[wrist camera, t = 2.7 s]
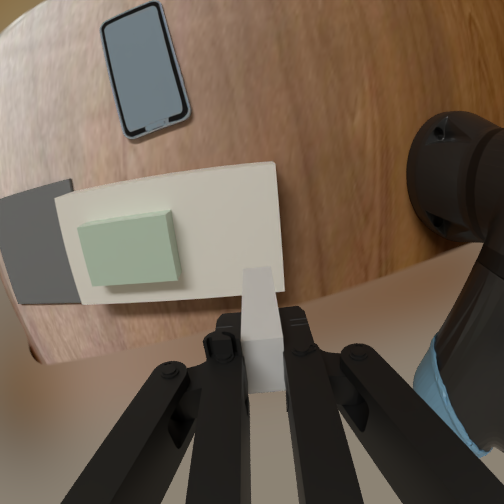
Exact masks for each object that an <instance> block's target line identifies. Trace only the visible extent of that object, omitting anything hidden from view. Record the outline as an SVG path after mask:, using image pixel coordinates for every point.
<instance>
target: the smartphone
mask: <svg viewBox="0 0 504 504" xmlns="http://www.w3.org/2000/svg"><path fill="white" fill-rule="evenodd" d="M100 36H101V41H102V46H103V51H104V56H105V61H106V65H107V70H108V74H109V79H110V83H111V87H112V92H113V96H114V100H115V104H116V108H117V112H118V116H119V119H120V123H121V127H122V131H123V134H124V136H125V137H127V138H129V139H136V138H139V137H141V136H144V135H147V134H149V133H152V132H154V131H157V130H160V129H162V128H165V127H168V126H171V125H173V124H176V123H179V122H182V121H185V120H186V119H188V118H189V116H190V115H191V106H190V102H189V99H188V96H187V92H186V89H185V85H184V81H183V77H182V75H181V70H180V66H179V64H178V61H177V57H176V54H175V50H174V47H173V43H172V40H171V36H170V32H169V29H168V25H167V22H166V18H165V14H164V11H163V7H162V4H161V3H160V2H159V1H157V0H152V1H149V2H146V3H144V4H141V5H139V6H137V7H134V8H132V9H130V10H127V11H125V12H123V13H121V14H119V15H116V16H114V17H112V18H110V19H108V20H106V21H105V22H103V23H102V25H101V27H100Z"/></svg>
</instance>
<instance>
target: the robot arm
mask: <svg viewBox="0 0 504 504" xmlns="http://www.w3.org/2000/svg"><path fill="white" fill-rule="evenodd" d="M407 186H408V192H409V196H410V200H411V202H412V205H413V207H414V210H415V212H416V213H417V215H418V217H419V218H420V220H421V221H422V222H423V223H424V224H425V225H426V226H427V227H428V228H429V229H430V230H432V231H433V232H435V233H437V234H438V235H440V236H442V237H444V238H446V239H448V240H451V241H455V242H482V243H484V244H483V247H482V249H481V251H480V254H479V256H478V258H477V260H476V262H475V264H474V266H473V268H472V271H471V273H470V275H469V277H468V279H467V281H466V283H465V285H464V287H463V289H462V291H461V293H460V295H459V296H458V298H457V300H456V302H455V304H454V306H453V308H452V309H451V311H450V313H449V315H448V316H447V318H446V320H445V322H444V324H443V325H442V327H441V329H440V330H439V332H437V333H436V335H435V336H434V338H433V339H432V341H431V344H430V348H429V350H428V351H427V353H426V354H425V356H424V358H423V359H422V361H421V363H420V364H419V366H418V368H417V370H416V373H415V376H414V381H413V389H412V388H411V387H410V386H409V384H407V382H406V381H405V380H404V379H403V378H402V377H401V376H400V375H399V374H398V373H397V372H396V371H395V370H394V369H393V368H392V367H391V366H390V365H389V364H388V363H387V362H386V361H385V360H384V359H383V358H382V357H381V356H380V355H379V354H378V353H377V352H376V351H375V350H374V349H373V348H372V347H370V346H368V345H365V344H357V343H356V344H351V345H348V346H346V347H344V349H343V350H342V351H341V353H329V352H325V351H322V350H321V349H319V347H318V345H317V344H315V343H314V341H313V337H312V334H311V331H310V327H309V324H308V321H307V318H306V315H305V311H304V310H302V309H301V308H300V307H299V306H293V307H283V308H278V305H277V299H276V293H275V287H274V282H273V276H272V270H271V266H267V267H256V268H246V269H243V283H242V312H238V313H226V314H222V315H221V316H220V317H219V318H218V319H217V323H216V330H215V331H214V332H212V333H209V334H208V335H207V336H206V337H205V338H204V340H203V345H204V349H205V353H206V358H207V360H206V362H204V363H202V364H200V365H197V366H194V367H190V368H186V366H185V365H184V364H183V363H181V362H177V361H169V362H165V363H162V364H160V365H159V366H157V367H156V368H155V369H154V371H153V372H152V373H151V375H150V376H149V378H148V379H147V380H146V382H145V383H144V385H143V386H142V387H141V389H140V391H139V392H138V393H137V395H136V396H135V397H134V399H133V400H132V402H131V403H130V404H129V406H128V407H127V409H126V410H125V411H124V413H123V414H122V416H121V417H120V419H119V420H118V421H117V423H116V424H115V426H114V427H113V429H112V430H111V431H110V433H109V435H108V436H107V437H106V439H105V440H104V441H103V443H102V444H101V446H100V447H99V449H98V450H97V451H96V453H95V454H94V456H93V457H92V459H91V460H90V462H89V463H88V464H87V466H86V467H85V469H84V470H83V472H82V473H81V474H80V476H79V477H78V479H77V480H76V482H75V483H74V485H73V486H72V488H71V489H70V491H69V492H68V494H67V495H66V496H65V498H64V499H63V501H62V502H61V504H161V502H162V500H163V498H164V496H165V493H166V491H167V490H168V488H169V485H170V484H171V482H172V479H173V477H174V475H175V473H176V471H177V469H178V467H179V465H180V463H181V461H182V459H183V457H184V454H185V452H186V450H187V448H188V446H189V444H190V442H191V440H192V438H193V436H194V433H195V437H194V444H193V451H192V458H191V465H190V473H189V480H188V488H187V495H186V504H251V474H250V473H251V472H250V413H249V412H250V410H249V397H248V393H249V394H252V393H264V392H275V391H285V390H286V404H287V412H288V417H289V424H290V432H291V440H292V448H293V456H294V464H295V472H296V480H297V489H298V497H299V504H364V502H363V498H362V494H361V490H360V487H359V483H358V479H357V475H356V472H355V468H354V464H353V461H352V457H351V453H350V450H349V446H348V442H347V439H346V435H345V432H344V429H343V425H342V421H341V418H340V414H339V411H340V412H341V414H342V415H343V417H344V418H345V420H346V421H347V423H348V424H349V426H350V427H351V429H352V430H353V432H354V433H355V435H356V436H357V438H358V439H359V441H360V442H361V443H362V445H363V447H364V448H365V449H366V451H367V452H368V454H369V455H370V457H371V458H372V459H373V461H374V463H375V464H376V466H377V467H378V468H379V470H380V471H381V473H382V474H383V476H384V477H385V479H386V480H387V482H388V483H389V484H390V486H391V487H392V489H393V490H394V492H395V493H396V495H397V496H398V497H399V499H400V500H401V502H402V503H403V504H504V485H503V484H502V483H501V482H500V481H499V480H498V479H497V478H496V477H495V475H494V474H493V473H492V472H491V471H490V470H489V469H488V468H487V467H486V466H485V464H484V463H483V462H482V461H481V460H480V459H479V458H481V457H483V456H486V455H487V454H488V453H489V452H490V451H491V450H492V449H493V447H496V448H497V449H499V450H500V451H502V452H504V128H501V127H499V126H497V125H495V124H493V123H492V122H490V121H488V120H486V119H484V118H482V117H480V116H478V115H476V114H473V113H470V112H466V111H450V112H443V113H440V114H437V115H435V116H433V117H432V118H430V119H429V120H428V121H427V122H426V123H425V124H424V125H423V126H422V127H421V128H420V130H419V131H418V133H417V134H416V136H415V138H414V140H413V143H412V145H411V148H410V152H409V156H408V162H407ZM338 410H339V411H338Z"/></svg>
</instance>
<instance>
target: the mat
mask: <svg viewBox="0 0 504 504" xmlns="http://www.w3.org/2000/svg"><path fill="white" fill-rule="evenodd" d="M70 192H73V187H72V181H71V179H67V180H63V181H59V182H56V183H52V184H48V185H45V186H41V187H38V188H34V189H31V190H27V191H24V192H21V193H17V194H14V195H11V196H8V197H5V198H2V199H0V249H1V253H2V256H3V260H4V263H5V266H6V270H7V273H8V276H9V279H10V282H11V285H12V288H13V291H14V293H15V296H16V299H17V301H18V304H43V303H81V299H80V296H79V293H78V290H77V287H76V284H75V281H74V277H73V274H72V270H71V267H70V263H69V260H68V256H67V252H66V249H65V245H64V241H63V237H62V232H61V228H60V224H59V219H58V214H57V210H56V205H55V199H54V198H56V197H59V196H62V195H65V194H67V193H70Z"/></svg>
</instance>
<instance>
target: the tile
mask: <svg viewBox="0 0 504 504" xmlns="http://www.w3.org/2000/svg"><path fill="white" fill-rule="evenodd" d="M77 230H78V235H79V239H80V243H81V247H82V251H83V255H84V259H85V262H86V266H87V270H88V273H89V277H90V280H91V284H92V287H93V286H109V285H124V284H138V283H152V282H165V281H178V279H179V277H180V275H181V273H182V269H181V264H180V259H179V253H178V248H177V242H176V236H175V231H174V225H173V219H172V212H171V210H164V211H157V212H149V213H142V214H135V215H128V216H122V217H115V218H108V219H102V220H96V221H90V222H86V223H84V224H82V225H80V226H79V227H77Z"/></svg>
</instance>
